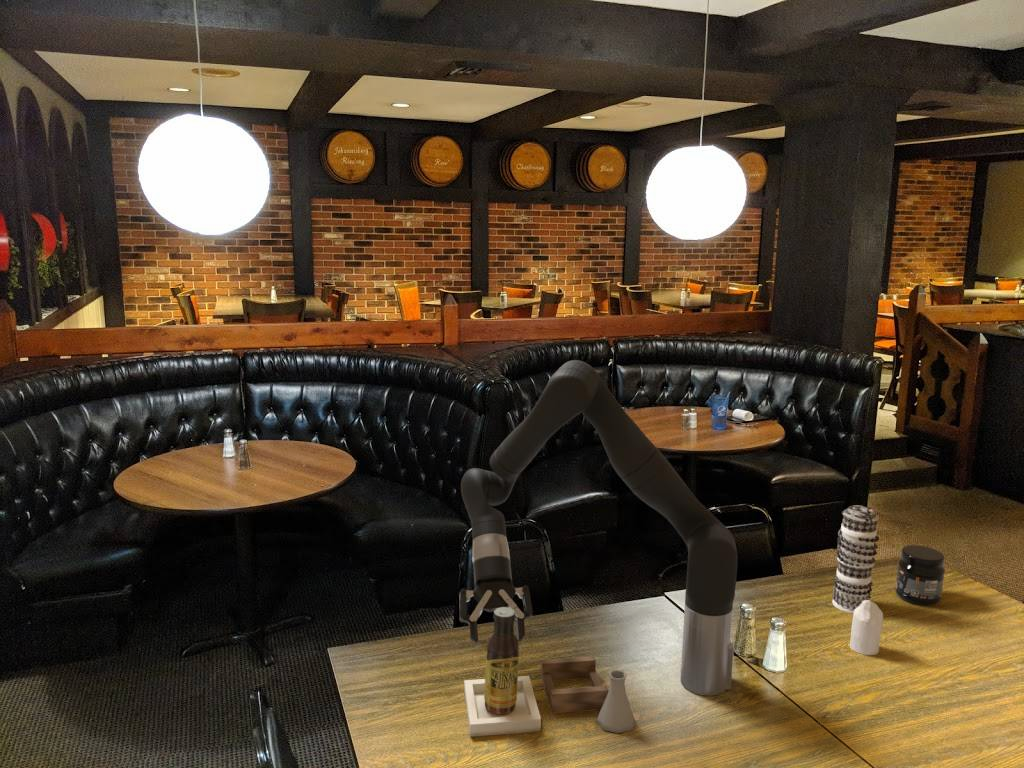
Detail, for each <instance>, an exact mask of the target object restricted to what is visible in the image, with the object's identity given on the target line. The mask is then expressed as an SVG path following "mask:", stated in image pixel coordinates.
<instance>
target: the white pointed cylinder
mask: <svg viewBox="0 0 1024 768" xmlns="http://www.w3.org/2000/svg"><path fill="white" fill-rule="evenodd" d="M852 615H853V616H852V619H851V620H852V621H851V630H850V632H851V633H850V641H849V647H850V649H851V650H852V651H854V652H856V653H858V654H861V655H863V656H874V655H875V656H876V655H877V654H879V652H880V642H881V635H882V630H883V623H884V614H883V611H882V610H881V609H880V608H879V606H878V604H876V603H875V602H873V601H871V599H870V600H864V601H862V603H861V605H860V606H858V607H857V608H856V609H855V610H854V614H853V613H852Z"/></svg>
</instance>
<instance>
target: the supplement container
mask: <svg viewBox="0 0 1024 768" xmlns="http://www.w3.org/2000/svg"><path fill="white" fill-rule="evenodd" d="M900 552H901V553H900V557H899V559H898V561H897V570H896V578H895V579H896V580H895V586H894V591H895V593H896V595H897V596H898V597H899V598H900V599H902V600H904V601H905V602H908V603H910V604H915V605H918V606H927V607H928V606H935V605H936V604H939V603H940V601H941V600H942V595H943V585H944V580H945V574H946V568H945V566H944V565H945V554H943V552H941V551H939V550H938V549H935V548H933V547H929V546H925V545H919V544H918V545H917V544H909V545H905V546H903V547H902V548H901V551H900Z"/></svg>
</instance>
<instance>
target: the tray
mask: <svg viewBox="0 0 1024 768" xmlns="http://www.w3.org/2000/svg"><path fill="white" fill-rule="evenodd" d="M463 681H464V682H463V685H464V686H463V691H464V692H463V693H464V699H465V706H466V716H467V723H468V731H469V737H470V738H473V737H486V736H497V735H511V734H520V733H522V734H523V733H535V732H541V729H542V728H541V727H542V717H541V714H540V711H539V708H538V704H537V700H536V697H535V693H534V689H533V685H532V682H531V681H532V680H531V678H530V675H523V676H522V675H521V676H520V675H518V683H517V701H516V705H515V708H514V710H513V711H512V712H510V713H507V714H505V715H497V714H493V713H490V712H489V711H488V710H487V709H486V708H485V699H484V693H485V678H480V679H465V680H463Z"/></svg>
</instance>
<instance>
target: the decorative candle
mask: <svg viewBox="0 0 1024 768" xmlns="http://www.w3.org/2000/svg"><path fill="white" fill-rule="evenodd" d="M841 514H842V515H843V516H842V523H841V527H840V529H839V530H838V532H837V536H838V537H837V538H836V541H837V547H836V548H837V551H836V552H835V553H836V560H837V561H838V563H837V567H836V575H835V574H834V581H833V583H834V584H833V586H834V587H833V589H832V590H833V591H832V605H833V606H834V608H836V609H838V610H840V611H842V612H845V613H848V614H852V615H853V614H854V610H855V609H856V608H857V607H858V606H860V605H861V603H862V601H864V600H870V601H871V598H872V593H871V592H872V591H873V589H872V586H873V583H874V582H873V579H872V578H873V574H872V569H873V567H874V566H875V562H876V558H875V557H874V556H876V555H877V554H878V551H877V549H878V547H879V545H878V544H877V543H876V542H878V541H880V537H879V536H878V535H879V531H878V529H877V528H878V527H877V526H878V520H879V519H880V517H879V515H877V513H876V512H875V510H873V509H872V508H871V507H868V506H865V505H858V504H857V505H849V506H848V507H847V508H846V509H844V510H842V512H841Z"/></svg>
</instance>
